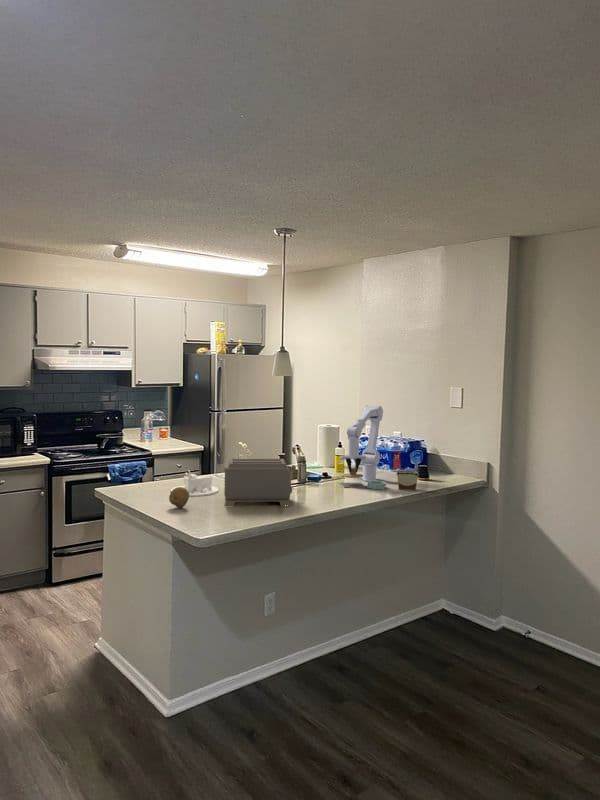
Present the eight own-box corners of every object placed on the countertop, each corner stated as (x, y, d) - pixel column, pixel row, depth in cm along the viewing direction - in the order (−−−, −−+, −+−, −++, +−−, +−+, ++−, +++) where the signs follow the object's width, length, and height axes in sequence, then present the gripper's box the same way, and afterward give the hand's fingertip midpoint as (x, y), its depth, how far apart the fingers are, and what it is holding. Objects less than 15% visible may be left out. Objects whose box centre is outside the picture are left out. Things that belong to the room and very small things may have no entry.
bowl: (365, 485, 352) (365, 480, 351) (382, 485, 353) (383, 480, 353) (370, 489, 342) (370, 484, 342) (388, 489, 343) (388, 484, 343)
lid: (341, 474, 356) (341, 467, 356) (360, 474, 358) (360, 467, 358) (345, 477, 346) (345, 470, 346) (365, 477, 347) (365, 469, 347)
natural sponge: (173, 511, 286) (174, 489, 285) (165, 507, 293) (165, 486, 292) (192, 508, 291) (192, 487, 290) (183, 505, 298) (183, 484, 298)
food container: (417, 488, 349) (418, 470, 348) (418, 490, 342) (419, 472, 342) (395, 487, 350) (395, 469, 349) (395, 489, 344) (396, 471, 343)
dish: (175, 498, 313) (175, 476, 313) (167, 488, 337) (167, 467, 336) (223, 495, 322) (223, 473, 322) (211, 485, 346) (212, 465, 345)
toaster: (297, 506, 300) (298, 464, 299) (224, 507, 296) (224, 464, 295) (293, 497, 319) (294, 458, 318) (224, 498, 316) (225, 457, 314)
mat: (340, 483, 357) (340, 482, 357) (360, 483, 359) (360, 482, 359) (344, 487, 346) (344, 487, 346) (365, 487, 348) (365, 486, 347)
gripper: (342, 449, 346) (342, 473, 347) (368, 449, 348) (367, 473, 349) (339, 447, 353) (339, 471, 354) (364, 447, 355) (364, 470, 356)
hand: (353, 471), depth 352 cm, fingers closed on lid, 3 cm apart
